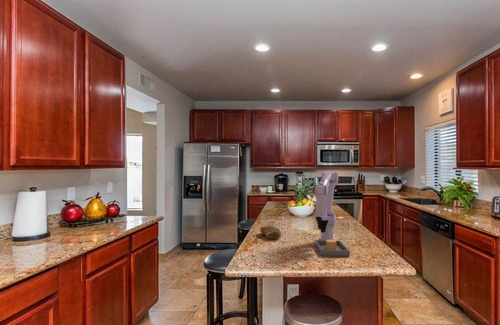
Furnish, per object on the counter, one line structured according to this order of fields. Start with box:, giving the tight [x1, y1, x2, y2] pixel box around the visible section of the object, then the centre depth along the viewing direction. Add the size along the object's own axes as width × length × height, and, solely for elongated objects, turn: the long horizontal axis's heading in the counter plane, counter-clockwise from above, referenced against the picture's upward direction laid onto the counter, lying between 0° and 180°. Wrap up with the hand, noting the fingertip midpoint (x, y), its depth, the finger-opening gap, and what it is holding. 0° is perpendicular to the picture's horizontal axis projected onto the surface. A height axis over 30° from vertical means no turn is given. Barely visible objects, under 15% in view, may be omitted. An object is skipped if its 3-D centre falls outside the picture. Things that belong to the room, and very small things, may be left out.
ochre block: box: [326, 239, 337, 250], centre depth 157 cm, size 5×5×5 cm
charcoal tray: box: [314, 239, 351, 258], centre depth 157 cm, size 20×14×3 cm
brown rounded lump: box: [259, 225, 282, 241], centre depth 190 cm, size 13×8×20 cm
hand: (321, 230), depth 163 cm, fingers open, 7 cm apart
